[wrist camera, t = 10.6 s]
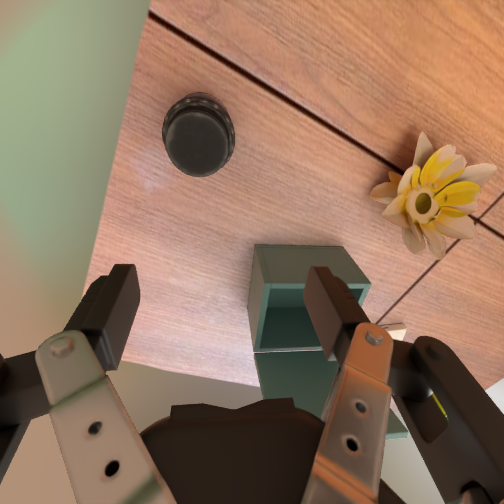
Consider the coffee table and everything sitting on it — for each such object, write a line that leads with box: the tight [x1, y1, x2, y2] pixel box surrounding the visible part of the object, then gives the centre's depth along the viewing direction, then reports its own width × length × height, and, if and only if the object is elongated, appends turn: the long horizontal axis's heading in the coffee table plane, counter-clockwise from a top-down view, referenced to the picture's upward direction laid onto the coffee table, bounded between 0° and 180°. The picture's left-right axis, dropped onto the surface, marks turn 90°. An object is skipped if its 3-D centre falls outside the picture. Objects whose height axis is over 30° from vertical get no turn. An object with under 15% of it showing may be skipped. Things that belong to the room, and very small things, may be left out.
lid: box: [254, 350, 408, 440], centre depth 32 cm, size 13×14×5 cm
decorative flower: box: [369, 131, 497, 260], centre depth 32 cm, size 15×11×10 cm
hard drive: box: [380, 323, 407, 341], centre depth 54 cm, size 2×8×12 cm
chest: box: [247, 245, 371, 352], centre depth 39 cm, size 13×14×9 cm
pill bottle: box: [162, 92, 235, 177], centre depth 24 cm, size 6×6×11 cm
